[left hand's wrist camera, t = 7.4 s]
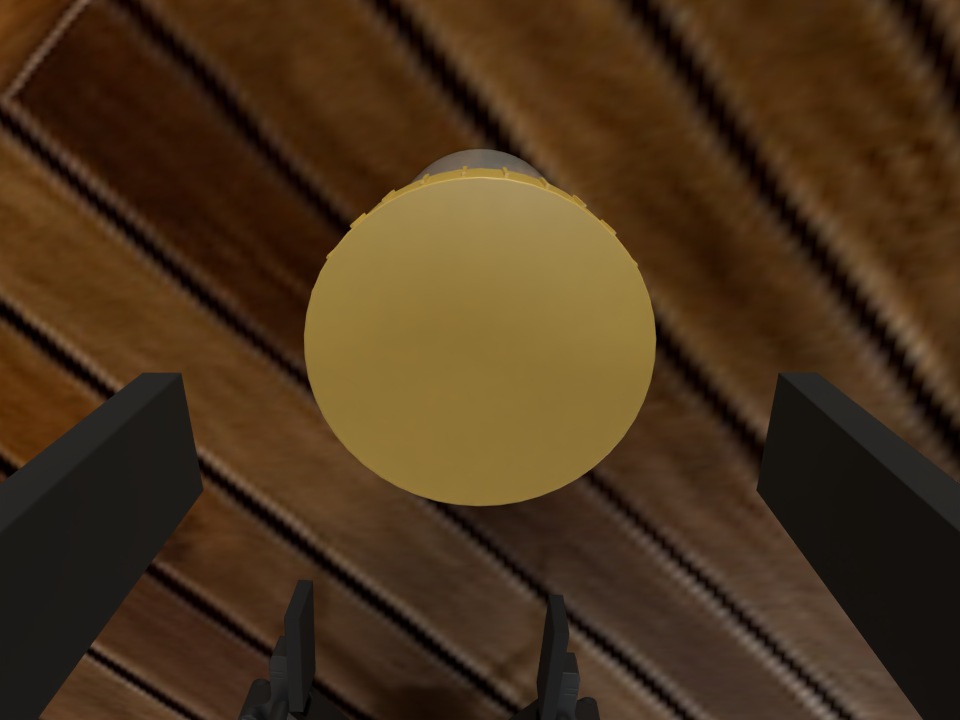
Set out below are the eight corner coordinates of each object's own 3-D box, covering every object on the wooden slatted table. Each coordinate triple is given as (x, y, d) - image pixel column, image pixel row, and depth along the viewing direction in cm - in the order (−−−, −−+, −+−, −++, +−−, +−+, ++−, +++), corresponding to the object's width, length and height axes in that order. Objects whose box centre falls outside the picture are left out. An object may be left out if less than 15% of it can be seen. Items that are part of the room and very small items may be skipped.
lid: (256, 299, 19) (226, 325, 16) (515, 90, 17) (520, 88, 14) (452, 513, 21) (449, 560, 19) (695, 358, 19) (723, 390, 17)
